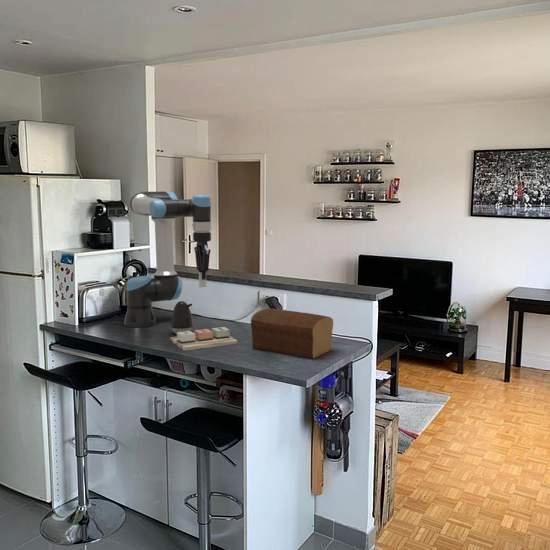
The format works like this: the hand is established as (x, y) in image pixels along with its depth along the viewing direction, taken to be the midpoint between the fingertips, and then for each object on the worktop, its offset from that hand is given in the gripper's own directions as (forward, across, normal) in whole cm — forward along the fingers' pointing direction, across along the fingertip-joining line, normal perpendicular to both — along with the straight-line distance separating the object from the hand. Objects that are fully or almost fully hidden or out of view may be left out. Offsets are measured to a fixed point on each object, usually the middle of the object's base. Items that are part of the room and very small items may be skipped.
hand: (202, 286), depth 247 cm
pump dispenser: (+25, -19, -3) cm, 31 cm away
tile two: (+22, 0, 0) cm, 22 cm away
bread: (+25, +27, +28) cm, 47 cm away
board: (+24, 0, 0) cm, 24 cm away
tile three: (+22, 0, +8) cm, 24 cm away
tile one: (+22, 0, -8) cm, 24 cm away
